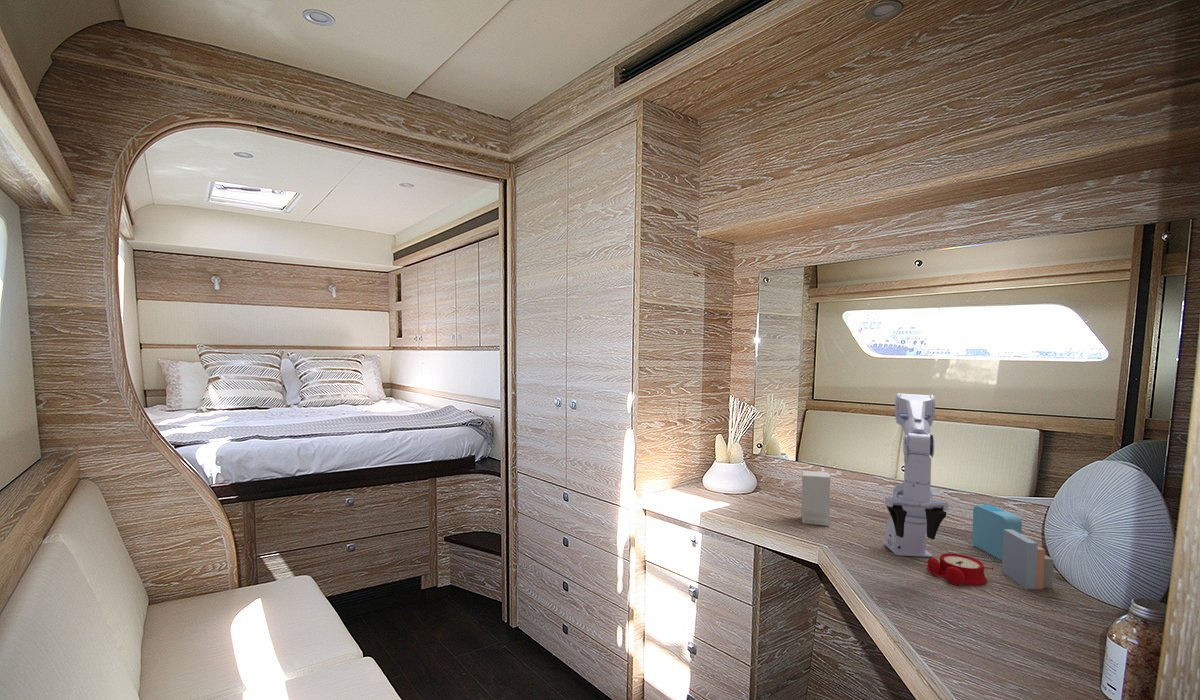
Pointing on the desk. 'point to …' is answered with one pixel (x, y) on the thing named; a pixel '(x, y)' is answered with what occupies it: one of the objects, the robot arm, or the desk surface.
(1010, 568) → the book row
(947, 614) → the desk surface
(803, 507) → the skincare box
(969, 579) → the alarm clock
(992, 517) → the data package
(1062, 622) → the desk surface
